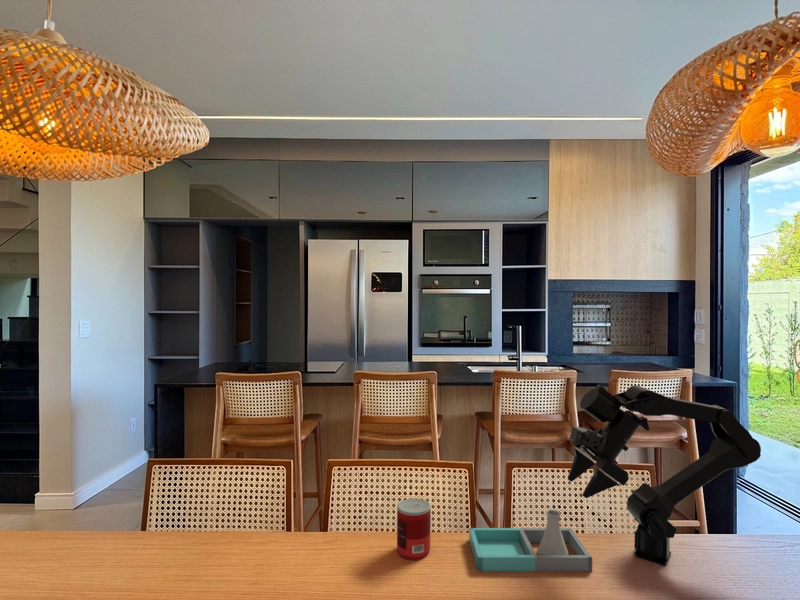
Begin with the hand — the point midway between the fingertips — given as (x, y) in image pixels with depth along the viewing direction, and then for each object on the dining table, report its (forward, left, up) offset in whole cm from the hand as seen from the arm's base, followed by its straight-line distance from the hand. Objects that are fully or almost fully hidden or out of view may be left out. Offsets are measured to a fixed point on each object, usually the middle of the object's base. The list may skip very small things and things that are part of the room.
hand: (576, 488), depth 112 cm
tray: (+9, +7, -16) cm, 19 cm away
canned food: (+30, +23, -16) cm, 41 cm away
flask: (+4, +3, -16) cm, 17 cm away
